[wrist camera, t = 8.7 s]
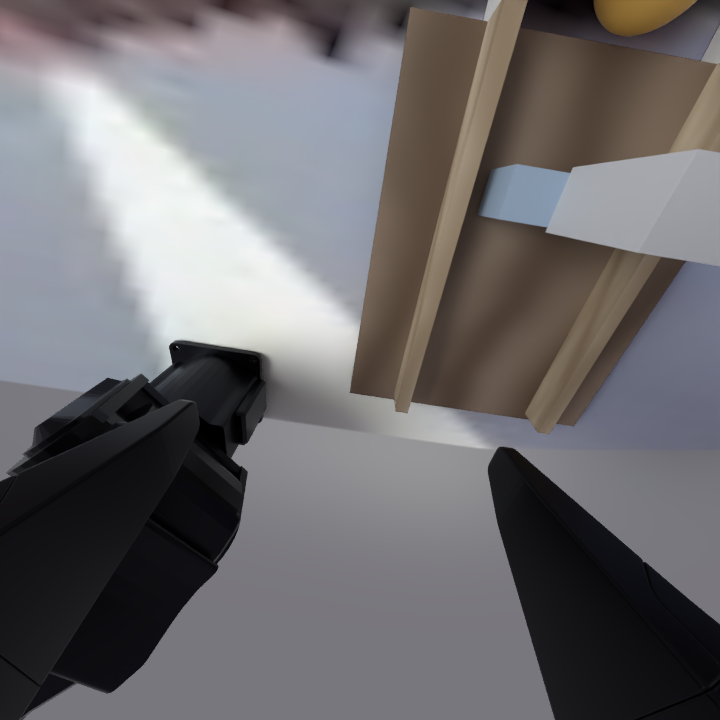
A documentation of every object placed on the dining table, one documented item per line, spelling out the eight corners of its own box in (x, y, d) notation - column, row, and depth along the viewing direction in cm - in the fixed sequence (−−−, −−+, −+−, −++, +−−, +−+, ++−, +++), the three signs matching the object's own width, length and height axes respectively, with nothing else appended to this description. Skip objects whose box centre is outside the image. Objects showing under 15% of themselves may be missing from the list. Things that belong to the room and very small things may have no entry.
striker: (475, 219, 15) (561, 240, 8) (492, 164, 14) (610, 133, 7) (601, 240, 15) (792, 278, 8) (628, 187, 14) (879, 180, 7)
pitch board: (350, 385, 22) (347, 410, 20) (408, 20, 13) (416, -26, 10) (566, 417, 23) (590, 446, 20) (779, 88, 13) (878, 62, 11)
